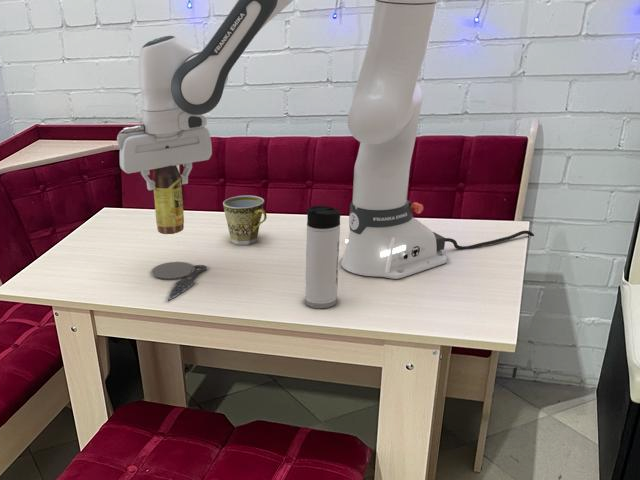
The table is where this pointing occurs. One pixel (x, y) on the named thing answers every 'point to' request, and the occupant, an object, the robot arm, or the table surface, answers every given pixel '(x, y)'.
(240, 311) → the table surface
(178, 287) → the throwing knife
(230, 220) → the ceramic cup
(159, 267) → the round mirror
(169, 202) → the sauce bottle
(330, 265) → the travel mug
